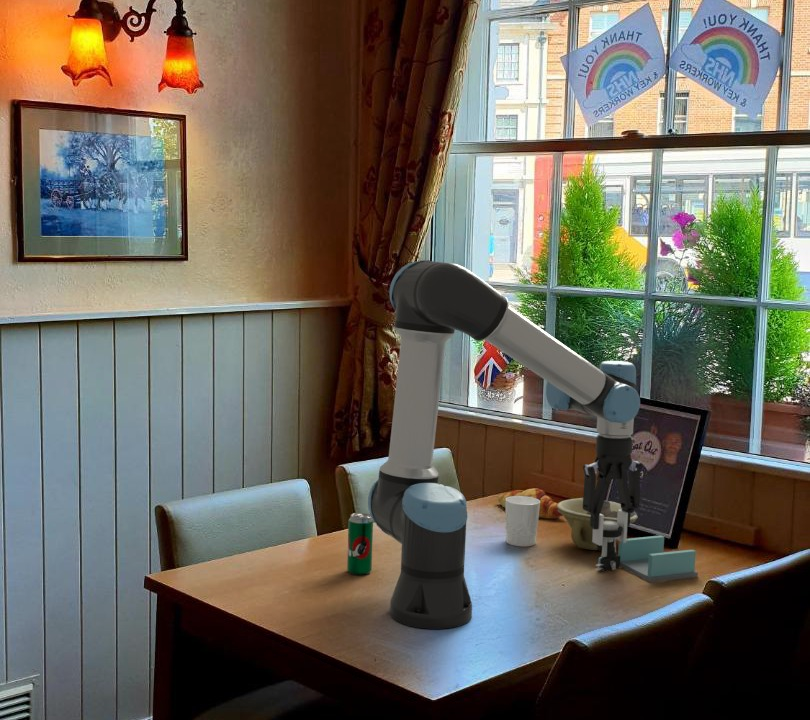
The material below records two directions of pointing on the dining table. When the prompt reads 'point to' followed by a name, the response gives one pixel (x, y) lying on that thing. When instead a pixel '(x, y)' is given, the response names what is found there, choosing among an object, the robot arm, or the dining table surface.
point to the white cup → (521, 520)
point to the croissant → (546, 504)
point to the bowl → (587, 520)
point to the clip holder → (656, 560)
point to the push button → (609, 547)
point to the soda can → (360, 544)
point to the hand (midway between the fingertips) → (609, 542)
